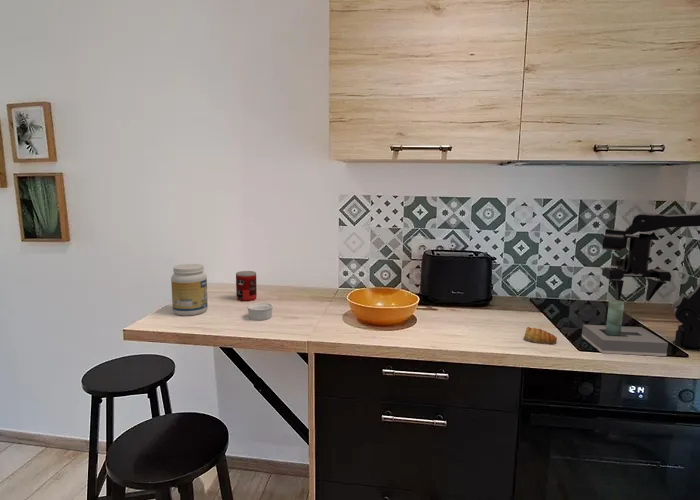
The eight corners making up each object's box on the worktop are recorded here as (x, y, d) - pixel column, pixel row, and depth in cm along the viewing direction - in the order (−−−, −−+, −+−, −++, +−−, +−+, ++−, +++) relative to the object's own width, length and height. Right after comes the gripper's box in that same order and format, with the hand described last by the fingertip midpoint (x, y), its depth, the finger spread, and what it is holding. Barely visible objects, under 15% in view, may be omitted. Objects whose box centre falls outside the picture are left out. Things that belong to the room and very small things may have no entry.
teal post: (612, 340, 140) (617, 299, 138) (622, 344, 137) (627, 303, 135) (601, 340, 140) (605, 300, 138) (611, 345, 136) (615, 303, 134)
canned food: (235, 297, 184) (235, 271, 182) (255, 296, 187) (255, 270, 185) (237, 302, 177) (236, 275, 175) (257, 301, 179) (257, 274, 178)
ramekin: (249, 322, 154) (249, 310, 153) (245, 315, 162) (245, 303, 161) (275, 320, 157) (275, 308, 156) (270, 312, 165) (270, 301, 164)
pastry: (557, 340, 142) (558, 329, 141) (555, 347, 136) (556, 335, 136) (525, 335, 147) (526, 324, 146) (522, 341, 141) (523, 330, 140)
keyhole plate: (639, 339, 144) (641, 327, 144) (666, 356, 130) (668, 343, 130) (581, 336, 146) (582, 324, 145) (601, 353, 132) (603, 340, 131)
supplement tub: (210, 314, 162) (208, 268, 159) (174, 318, 156) (171, 270, 154) (205, 305, 172) (203, 262, 170) (171, 308, 167) (169, 264, 164)
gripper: (654, 249, 150) (648, 294, 152) (596, 247, 151) (591, 292, 154) (675, 255, 139) (668, 304, 142) (613, 253, 140) (607, 301, 143)
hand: (632, 300), depth 145 cm, fingers open, 9 cm apart
